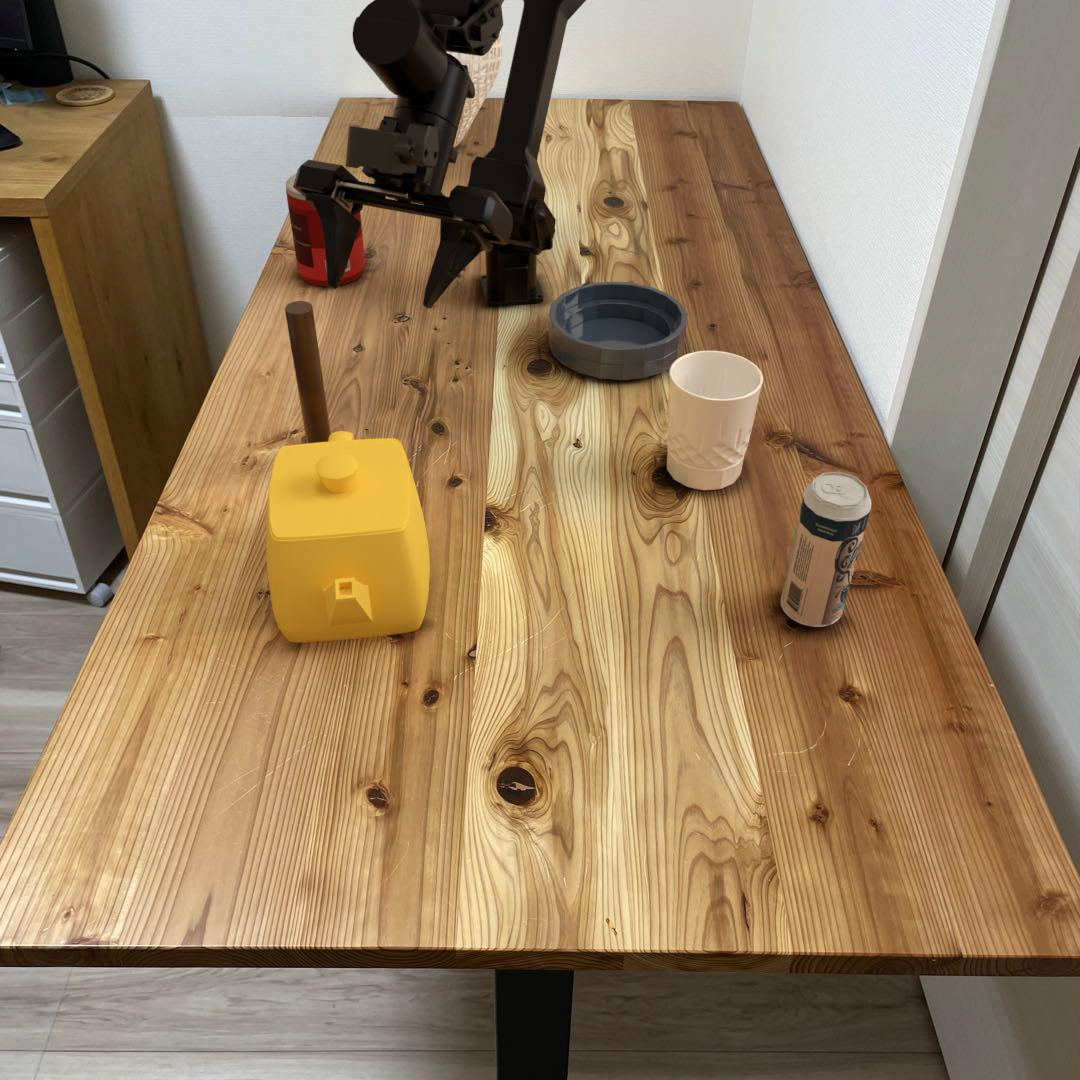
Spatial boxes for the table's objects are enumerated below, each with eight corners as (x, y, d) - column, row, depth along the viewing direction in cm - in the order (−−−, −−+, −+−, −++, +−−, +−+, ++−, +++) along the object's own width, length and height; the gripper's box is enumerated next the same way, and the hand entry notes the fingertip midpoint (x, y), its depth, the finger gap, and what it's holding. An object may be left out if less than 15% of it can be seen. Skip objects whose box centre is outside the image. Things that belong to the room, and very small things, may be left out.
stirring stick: (298, 453, 98) (271, 296, 88) (346, 449, 99) (325, 292, 88) (298, 482, 95) (270, 322, 84) (348, 478, 96) (326, 318, 85)
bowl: (538, 320, 117) (538, 286, 115) (663, 310, 119) (666, 277, 117) (562, 389, 107) (563, 355, 104) (699, 377, 109) (704, 343, 106)
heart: (503, 185, 145) (501, 8, 131) (388, 185, 145) (373, 7, 130) (503, 113, 166) (501, -47, 152) (403, 113, 166) (391, -47, 151)
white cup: (754, 453, 99) (770, 359, 92) (737, 503, 93) (753, 407, 87) (671, 436, 101) (681, 343, 94) (650, 484, 95) (659, 389, 89)
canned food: (378, 264, 127) (369, 173, 120) (341, 293, 121) (330, 200, 114) (324, 251, 129) (312, 162, 122) (285, 279, 124) (270, 187, 117)
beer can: (841, 635, 81) (875, 513, 73) (778, 626, 82) (805, 504, 74) (841, 593, 85) (873, 472, 77) (780, 584, 85) (806, 464, 78)
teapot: (440, 677, 78) (431, 555, 70) (267, 694, 76) (238, 572, 69) (424, 505, 93) (415, 390, 85) (279, 517, 91) (256, 400, 84)
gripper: (286, 63, 87) (237, 247, 87) (495, 93, 82) (443, 289, 82) (345, 124, 98) (301, 288, 98) (534, 154, 93) (488, 327, 93)
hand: (378, 297), depth 93 cm, fingers open, 9 cm apart
